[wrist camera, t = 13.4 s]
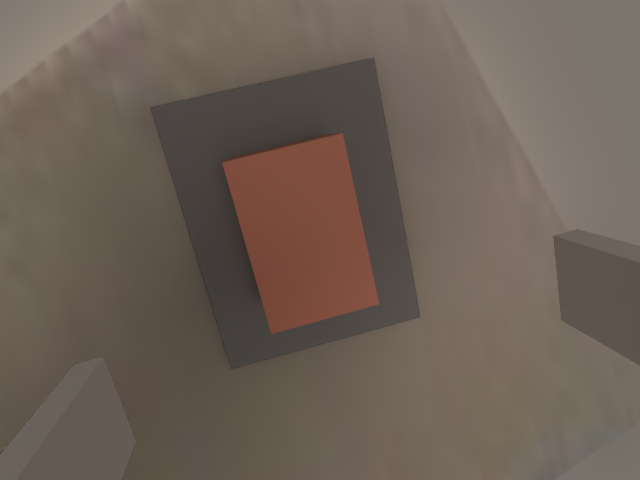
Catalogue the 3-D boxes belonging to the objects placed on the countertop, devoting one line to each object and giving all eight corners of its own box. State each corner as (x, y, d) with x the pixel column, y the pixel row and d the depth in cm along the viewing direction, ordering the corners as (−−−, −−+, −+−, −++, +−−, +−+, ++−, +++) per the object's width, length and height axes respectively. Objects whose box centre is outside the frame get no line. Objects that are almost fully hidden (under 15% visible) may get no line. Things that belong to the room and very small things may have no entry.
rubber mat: (232, 363, 31) (231, 369, 30) (153, 108, 27) (150, 107, 26) (416, 312, 32) (420, 317, 32) (370, 60, 28) (373, 58, 27)
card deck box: (228, 158, 27) (222, 162, 22) (327, 134, 28) (342, 133, 23) (269, 302, 30) (271, 334, 25) (359, 277, 30) (379, 304, 25)
